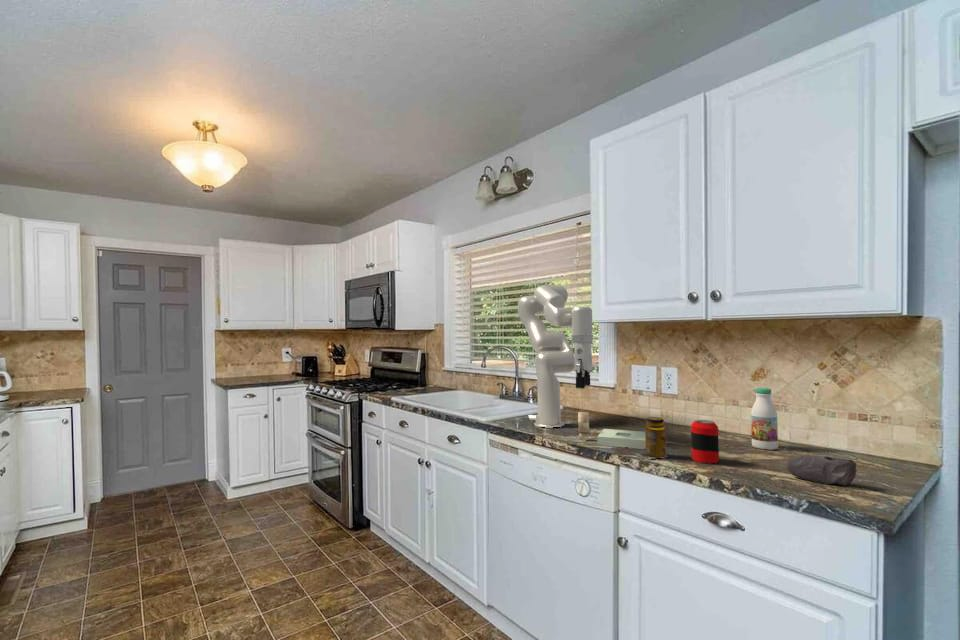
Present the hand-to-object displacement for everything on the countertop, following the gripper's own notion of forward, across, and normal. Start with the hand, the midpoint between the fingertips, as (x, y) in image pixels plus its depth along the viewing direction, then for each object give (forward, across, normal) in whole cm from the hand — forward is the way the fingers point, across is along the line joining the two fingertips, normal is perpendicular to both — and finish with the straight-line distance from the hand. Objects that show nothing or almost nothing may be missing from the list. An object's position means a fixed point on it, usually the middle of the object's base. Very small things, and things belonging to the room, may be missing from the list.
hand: (583, 386), depth 174 cm
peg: (+20, 0, 0) cm, 20 cm away
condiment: (+20, -14, -25) cm, 35 cm away
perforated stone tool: (+20, -25, -67) cm, 74 cm away
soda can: (+20, -14, -40) cm, 47 cm away
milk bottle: (+20, +11, -59) cm, 63 cm away
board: (+20, +1, -14) cm, 24 cm away
